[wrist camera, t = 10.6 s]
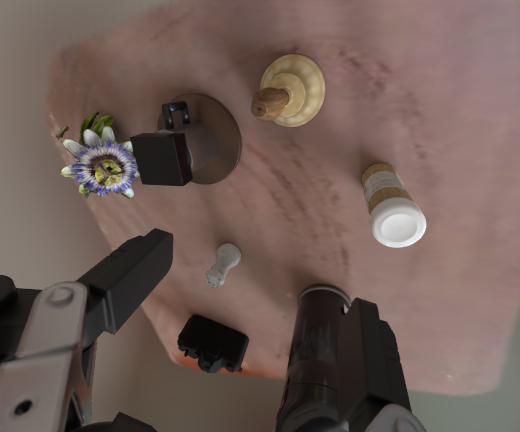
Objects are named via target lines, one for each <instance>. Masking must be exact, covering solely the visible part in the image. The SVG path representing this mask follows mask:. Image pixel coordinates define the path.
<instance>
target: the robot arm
mask: <svg viewBox="0 0 520 432" xmlns="http://www.w3.org/2000/svg"><path fill="white" fill-rule="evenodd" d="M172 260H173V234H171V233H168V232H166V231H163V230H160V229H157V228H155V229H153V230H152V231H150V232H149V233H148V234H147V235H146V236H144V237H143V236H137V237H135V238H132V239H130V240H127V241H126V242H125V243H124V244H122V245H121V246H120V247H118V249H117V250H115V251H113V252H112V253H111V254H110V256H107V257H106V258H104V259H103V260H102V261H101V262H99V263H98V264H97V265H96V266H94V267H93V268H92V269H90V270H89V271H88V272H87V273H85V274H84V275H83V276H82V277H80V278H79V279H78V280H76V281H65V282H60V283H56V284H54V285H51V286H49V287H47V288H46V289H44V290H35V289H20V288H16V287H15V285H14V283H13V280H12V279H11V278H9V277H7V276H4V275H0V432H157V431H156V430H155V429H154V428H153V427H152V426H150V425H148V424H146V423H144V422H141V421H139V420H137V419H134V418H132V417H130V416H128V415H125V414H123V413H121V412H119V413H118V414H117V416H116V418H115V419H114V421H113V422H98V423H93V424H92V384H93V375H94V366H95V357H96V347H97V338H98V337H99V335H100V334H101V333H102V332H103V331H106V332H108V333H111V334H113V335H114V334H115V333H116V332H117V331H118V330H119V329H120V328H121V326H122V325H123V324H124V323H125V322H126V321H127V319H128V318H129V317H130V316H131V315H132V314H133V312H134V311H135V310H136V309H137V308H138V307H139V305H140V304H141V303H142V302H143V301H144V300H145V298H146V297H147V296H148V295H149V294H150V293H151V292H152V290H153V289H154V288H155V287H156V286H157V285H158V283H159V282H160V281H161V280H162V279H163V278H164V276H165V275H166V274H167V273H168V271H169V269H170V267H171V265H172ZM397 350H398V347H397V343H396V338H395V335H394V333H393V331H392V330H391V328H390V326H389V325H388V323H387V322H386V321H383V320H380V319H379V313H378V307H377V305H376V304H375V303H372V302H369V301H366V300H363V299H360V298H355V299H354V301H353V302H352V304H351V301H350V299H349V297H348V296H347V295H346V294H345V293H344V292H343V291H341V290H340V289H338V288H336V287H333V286H329V285H314V286H310V287H308V288H306V289H305V290H304V291H303V292H302V293H301V294H300V296H299V301H298V310H297V315H296V321H295V327H294V333H293V338H292V344H291V350H290V356H289V362H288V368H287V374H286V380H285V386H284V392H283V397H282V403H281V406H280V409H279V411H278V413H277V417H276V421H275V425H274V430H273V432H427V431H426V430H425V428H424V426H423V425H422V423H421V422H420V421H419V420H418V419H417V417H416V416H415V415H414V414H413V413H412V410H411V407H410V402H409V397H408V393H407V388H406V384H405V379H404V375H403V370H402V365H401V363H400V356H399V352H398V351H397Z"/></svg>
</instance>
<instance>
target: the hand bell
mask: <svg viewBox="0 0 520 432" xmlns="http://www.w3.org/2000/svg"><path fill="white" fill-rule="evenodd" d="M324 97H325V81H324V77H323V74H322V72H321V70H320V69H319V67H318V66H317V64H316V63H315V62H314V61H312V60H311V59H309V58H308V57H306V56H303V55H299V54H289V55H284V56H282V57H280V58H278V59H276V60H275V61H274V62H273V63H272V64H271V65H270V66H269V67H268V68H267V69H266V71H265V73H264V75H263V77H262V80H261V83H260V91H259V92H257V94H256V95H255V96H254V98H253V101H252V107H251V111H252V113H253V115H254V116H255V117H257V118H258V119H260V120H262V121H271V120H272V121H274V122H275V123H277V124H279V125H282V126H286V127H296V126H300V125H303V124H305V123H307V122H308V121H310V120H311V119H312V118H313V117H314V116H315V115H316V114H317V113H318V111H319V110H320V108H321V106H322V104H323V101H324Z"/></svg>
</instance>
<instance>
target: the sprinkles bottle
mask: <svg viewBox="0 0 520 432" xmlns="http://www.w3.org/2000/svg"><path fill="white" fill-rule="evenodd" d="M362 186H363V188H364V194H365V199H366V203H367V207H368V211H369V214H370V226H371V230H372V233H373V235H374V237H375V238H376V239H377V240H378V241H379V242H380V243H382V244H384V245H386V246H389V247H405V246H409V245H411V244H413V243H415V242H416V241H418V240H419V239H420V238H421V237H422V235H423V234H424V232H425V229H426V219H425V217H424V215H423V213H422V211H421V210H420V208H419V206H418V205H417V204H416V203H414V202H413V200H412V199H411V197H410V195H409V193H408V191H407V189H406V187H405V185H404V184H403V182H402V180H401V179H400V177H399V176H398V174H397V171H396V170H395V169H394V168H393V167H392V166H390V165H388V164H385V163H383V164H381V163H380V164H375V165H372V166H370V167H369V168H368V169H367V170H366V171H365V172H364V174H363V176H362Z"/></svg>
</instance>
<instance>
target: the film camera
mask: <svg viewBox="0 0 520 432" xmlns="http://www.w3.org/2000/svg"><path fill="white" fill-rule="evenodd" d="M178 337H179V338H178V341H177V342H178V346H179V347H178V348H179V350H181V351H185V354H184V356H185V357H186V356H188V355H189V356H190V357H192V358H194V359H196V358H198V365H199V367H200V368H201V370H203V371H205V372H207V373H216V372H218V371H220V369H221V368H222V367H223V368H226V369H227V371H229V372H232V373H233V372H234V371H239V372H241V371H242V368H241V364H242V361H243V358H244V355H245V352H246V349H247V346H248V343H249V339H248V337H247V336H246V335H244V334H242V333H240V332H238V331H235V330H233V329H231V328H228V327H226V326H224V325H222V324H219V323H217V322H214V321H212V320H210V319H207V318H204V317H202V316H199V315H193V316H192V317H191V318H189V320H188V322H187V323H186V325H185V326H184V328H183V330H182V331H181V333H180V334H179V336H178ZM238 369H239V370H238Z"/></svg>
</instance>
